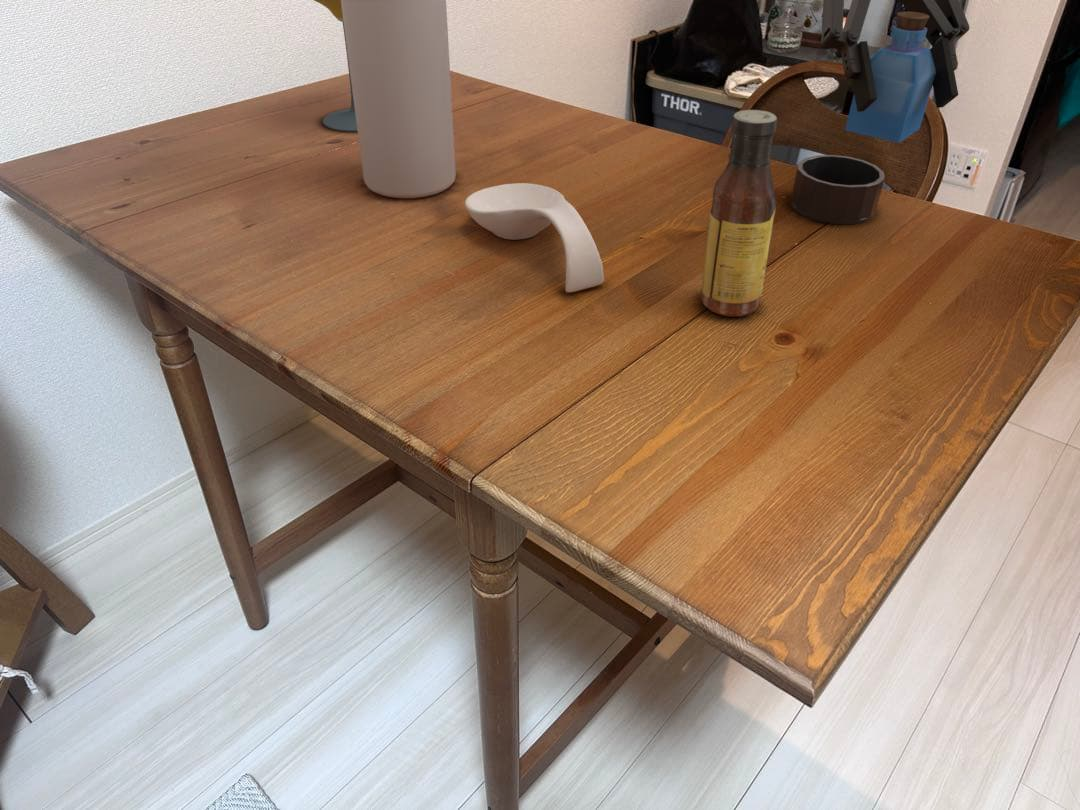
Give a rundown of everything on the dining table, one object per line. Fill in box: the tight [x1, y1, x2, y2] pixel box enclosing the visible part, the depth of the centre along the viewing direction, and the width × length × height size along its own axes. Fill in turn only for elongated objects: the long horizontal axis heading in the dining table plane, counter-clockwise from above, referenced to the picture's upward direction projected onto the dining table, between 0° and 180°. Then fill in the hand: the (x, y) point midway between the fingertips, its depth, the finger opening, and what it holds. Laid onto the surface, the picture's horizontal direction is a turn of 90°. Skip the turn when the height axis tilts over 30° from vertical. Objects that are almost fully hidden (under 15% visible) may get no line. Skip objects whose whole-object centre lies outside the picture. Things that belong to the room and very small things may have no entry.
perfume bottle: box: [844, 11, 936, 144], centre depth 89 cm, size 6×6×12 cm
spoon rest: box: [464, 182, 605, 293], centre depth 94 cm, size 24×12×7 cm, turn 29°
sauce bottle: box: [700, 109, 778, 318], centre depth 81 cm, size 6×6×20 cm
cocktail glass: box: [313, 0, 358, 133], centre depth 124 cm, size 18×18×25 cm
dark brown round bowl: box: [789, 154, 886, 226], centre depth 105 cm, size 11×11×5 cm
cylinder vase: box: [341, 0, 457, 199], centre depth 104 cm, size 12×12×25 cm
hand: (907, 103), depth 87 cm, fingers closed on perfume bottle, 9 cm apart
